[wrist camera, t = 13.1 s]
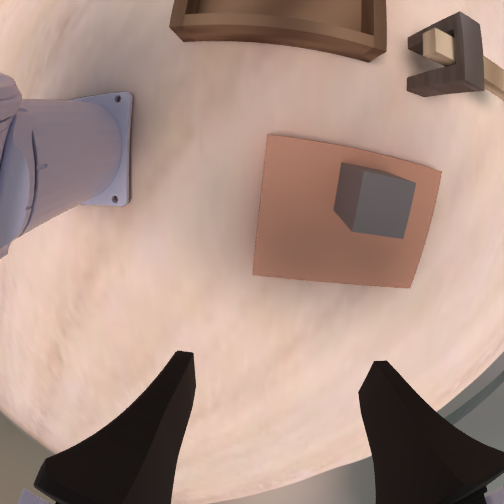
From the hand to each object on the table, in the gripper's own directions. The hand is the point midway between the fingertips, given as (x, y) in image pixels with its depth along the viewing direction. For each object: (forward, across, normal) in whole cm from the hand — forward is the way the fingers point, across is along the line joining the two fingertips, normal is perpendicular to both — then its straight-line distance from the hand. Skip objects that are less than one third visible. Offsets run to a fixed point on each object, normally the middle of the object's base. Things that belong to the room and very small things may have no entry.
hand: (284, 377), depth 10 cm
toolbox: (+10, -1, -19) cm, 21 cm away
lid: (+11, -5, -4) cm, 12 cm away
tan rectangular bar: (+6, -11, -16) cm, 20 cm away
